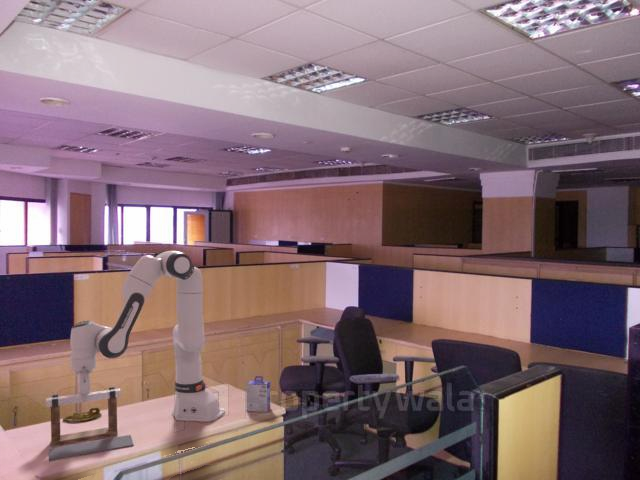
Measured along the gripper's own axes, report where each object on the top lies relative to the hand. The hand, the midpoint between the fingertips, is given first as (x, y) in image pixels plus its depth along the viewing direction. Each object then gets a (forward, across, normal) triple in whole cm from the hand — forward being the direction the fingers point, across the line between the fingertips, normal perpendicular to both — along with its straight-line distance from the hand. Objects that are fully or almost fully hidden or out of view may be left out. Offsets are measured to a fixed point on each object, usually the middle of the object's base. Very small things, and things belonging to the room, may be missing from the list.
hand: (84, 399), depth 200 cm
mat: (+15, -11, -2) cm, 19 cm away
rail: (0, 0, 0) cm, 0 cm away
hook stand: (+15, 0, 0) cm, 15 cm away
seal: (+16, +22, 0) cm, 27 cm away
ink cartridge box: (+15, -1, -70) cm, 72 cm away
